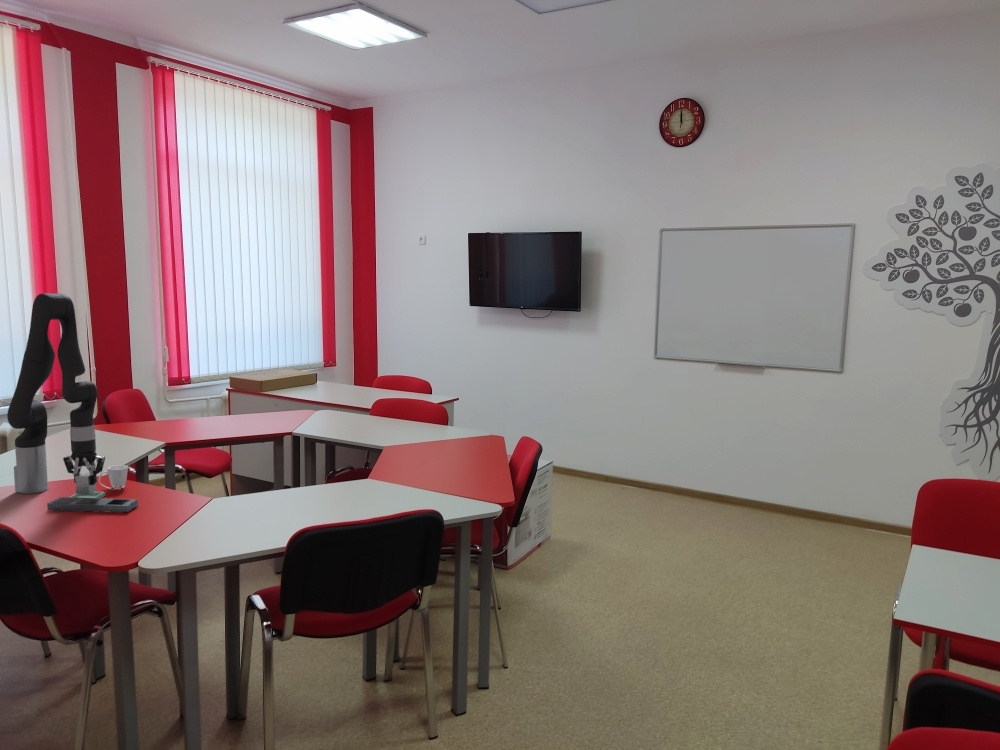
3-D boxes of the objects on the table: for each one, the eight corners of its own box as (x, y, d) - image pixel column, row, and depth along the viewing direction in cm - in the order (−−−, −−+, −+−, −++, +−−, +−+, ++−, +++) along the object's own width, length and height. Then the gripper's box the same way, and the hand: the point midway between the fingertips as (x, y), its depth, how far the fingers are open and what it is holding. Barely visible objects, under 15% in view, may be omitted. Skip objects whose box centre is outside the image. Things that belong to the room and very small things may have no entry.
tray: (65, 503, 244) (65, 499, 243) (80, 495, 253) (80, 491, 252) (91, 504, 244) (91, 499, 244) (105, 496, 253) (105, 491, 253)
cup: (131, 488, 262) (130, 467, 261) (101, 493, 256) (100, 472, 255) (126, 483, 268) (125, 463, 266) (97, 488, 261) (96, 467, 260)
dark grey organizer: (47, 510, 236) (47, 503, 236) (60, 503, 243) (59, 496, 243) (127, 512, 237) (127, 505, 236) (137, 506, 244) (137, 499, 243)
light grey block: (76, 493, 246) (75, 476, 245) (83, 490, 250) (82, 472, 249) (89, 494, 246) (88, 476, 245) (96, 490, 250) (95, 472, 249)
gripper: (55, 440, 241) (59, 487, 244) (97, 440, 242) (100, 488, 244) (68, 435, 249) (71, 481, 251) (109, 435, 249) (111, 481, 251)
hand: (85, 484), depth 248 cm, fingers closed on light grey block, 4 cm apart
